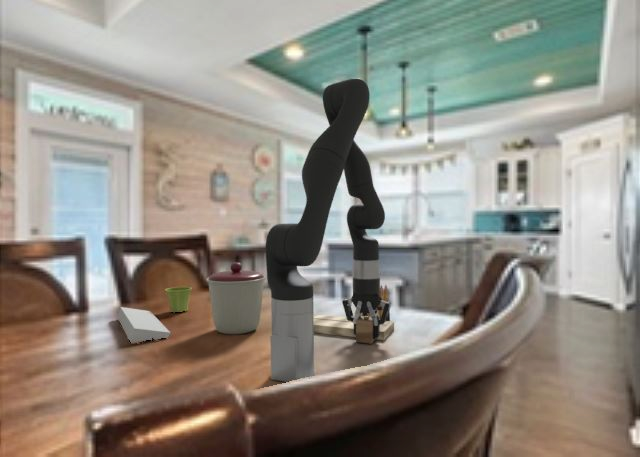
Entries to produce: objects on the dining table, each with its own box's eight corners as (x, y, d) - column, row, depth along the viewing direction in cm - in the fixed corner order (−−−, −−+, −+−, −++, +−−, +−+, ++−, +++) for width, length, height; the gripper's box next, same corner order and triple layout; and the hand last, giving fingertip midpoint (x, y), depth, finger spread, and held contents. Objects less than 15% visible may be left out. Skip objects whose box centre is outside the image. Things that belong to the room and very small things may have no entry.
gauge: (371, 343, 111) (371, 319, 111) (356, 341, 112) (356, 317, 112) (383, 331, 122) (383, 309, 122) (369, 330, 124) (369, 308, 124)
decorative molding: (146, 324, 148) (116, 320, 143) (149, 311, 149) (120, 306, 144) (166, 349, 119) (129, 345, 114) (170, 332, 120) (134, 328, 115)
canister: (235, 320, 140) (234, 258, 139) (278, 327, 130) (277, 261, 130) (194, 333, 124) (192, 264, 124) (239, 342, 115) (238, 267, 114)
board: (394, 329, 126) (394, 321, 126) (384, 340, 115) (384, 331, 115) (311, 321, 137) (311, 314, 137) (294, 330, 126) (294, 322, 126)
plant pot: (164, 310, 157) (164, 287, 157) (190, 307, 161) (190, 285, 161) (166, 315, 148) (166, 291, 148) (193, 312, 152) (193, 289, 152)
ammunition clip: (362, 324, 132) (362, 287, 132) (359, 323, 134) (359, 286, 134) (390, 320, 137) (389, 284, 137) (386, 319, 139) (386, 284, 138)
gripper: (337, 276, 113) (337, 338, 113) (388, 279, 107) (388, 344, 108) (346, 273, 120) (347, 331, 120) (394, 275, 114) (395, 336, 114)
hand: (366, 337), depth 114 cm, fingers closed on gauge, 4 cm apart
